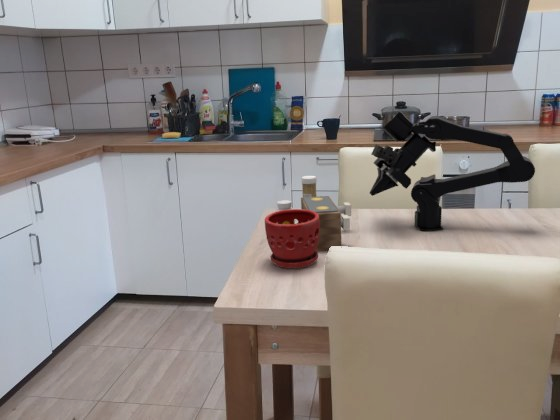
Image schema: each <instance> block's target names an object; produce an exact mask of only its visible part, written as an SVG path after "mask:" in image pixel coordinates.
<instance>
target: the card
mask: <svg viewBox="0 0 560 420" xmlns="http://www.w3.org/2000/svg"><path fill="white" fill-rule="evenodd" d="M328 196H329V195H324V196H323V197H320V196H316V197H307V198H303V197H302V198H303V199H304V201H305V203H306V205H307V207H308V209H309V210H310V211H314V212H316V213H324V212H338V210H337V209H336V207H335V206H336V205H335V206H334V204H335V203H334V202H333V203H334V204H333V203H332V202H331V200H332V199H331V198H330V199H331V200H330V199H329V197H330V196H329V197H328Z"/></svg>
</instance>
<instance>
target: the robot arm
mask: <svg viewBox="0 0 560 420" xmlns="http://www.w3.org/2000/svg"><path fill="white" fill-rule="evenodd" d="M382 130H383V131H385V132H386V134H387V135H388V136H390V137H391V138H392V139H393V140H394V141H396V142H397V143H398V142H402V143H404V144H403V145H402V146H401V147H400V148H398V147H397V148H395V149H394V148H393V147H391V146H389V145H385V146H384V147H383V146H381V145H379V144H375V145H374V147H373V150H372V152H371V156H374V157H375V158H377V159H375V160H374V162H373V164H374V165H375V166H376V167H377V168H376V169H377V177H376V179H375V182H374V183H373V186H372V187H371V189H370V191H369V194H370V195H371V196H372V197H373V196H375V195H378V194H380V193H382V192H384V191H387V190H390V189H393V188H395V187H399V184H400V185H401V186H402V187H403V188H404V189H408V188H409V186H410V185H411V184H412V179H411V178H410V176H408V175H407V174H406V173H407V172H408V171H409V170H410V169H411V168H412V167H416V166H417V163H416V162H417V161H418V160H419V159H420V158H421V156H423V155H424V153H426V152H427V150H429V151H431V152H432V153H434V152H436V151H437V148H436V147H437V142H436V141H431V140H442V141H443V140H446V141H447V140H458V141H463V142H467V143H471V144H477V145H481V146H485V147H489V148H490V147H491V148H494V149H495V148H496V149H499V150H501V151H502V153H503V155H504V157H505V158H506V161H505V162H502V163H500V164H499V165H497V166H493V167H490V168H485V169H481V170H476V171H473V172H468V173H464V174H460V175H455V176H451V177H448V178H436V174H431V175H428V176H426V177H424V176H421V177H420V179H419V180H417V181H415V183H414V184H413V187H412V188H411V191H410V197H411V200H413V201H414V202H415V203H416V204H417V205H416V210H415V211H414V223H413V224H414V225H413V226H415V227H416V228H417V229H418V230H419V231H422V232H423V231H440V230H444V227H443V226H442V212H443V211H442V208H443V207H442V206H440V202H441V197H442V196H445V195H446V194H451V193H455V192H460V191H464V190H470V189H473V188H477V187H478V188H479V187H483V186H486V185H487V186H489V185H492V184H497V183H508V184H509V183H513V184H514V183H525V182H529V181H531V180H532V179H533V177H534V176H535V173H536V168H535V165H534V163H533V161H532V160H531V159H530V158H528V157H526V156H523V154H522V152H521V151H520V150H519V148H518V146H517V145H516V143H515V142H514V139H513V136H512V135H510V134H509V133H500V132H495V131H491V130H486V129H480V128H476V127H470V126H467V125H466V126H465V125H460V124H458V123H457V122H456V123H455V122H454V121H451V120H449V119H446V118H444V117H442V116H439V115H432V116H430V117H429V118H427V119H426V120H425V121H420V122H419V121H418V122H415V123H414V122H413V121H412V120H410V119H409V118H408V117H407V116H406V115H405V113H403V111H401V110H399V111H398V112H397V114H396V115H395V116H393V118H391V119H390V120H389V121H388V122H387V123H386V124H385V125H384V126H383V127H382ZM421 135H422V136H421ZM408 137H409V138H408ZM407 138H408V139H407ZM406 139H407V140H406ZM405 140H406V141H405ZM398 183H399V184H398Z"/></svg>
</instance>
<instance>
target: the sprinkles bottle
mask: <svg viewBox="0 0 560 420" xmlns="http://www.w3.org/2000/svg"><path fill="white" fill-rule="evenodd" d="M301 185H302V187H301V188H302V193H301V194H302V198H303V197H317V176H315V175H303V176H302V177H301Z"/></svg>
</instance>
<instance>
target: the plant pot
mask: <svg viewBox="0 0 560 420" xmlns="http://www.w3.org/2000/svg"><path fill="white" fill-rule="evenodd" d="M294 219H295V220H297V223H295V224H294V223H293V220H294ZM308 220H309V221H308ZM285 221H288V222H289V223H290V224H283V222H285ZM302 222H304V223H302ZM276 223H278V224H276ZM264 229H265V235H266V239H267V243H268V246H269V249H270V251H271V255H270V258H271V261H272V263H273V264H275V266H278V267H280V268H284V269H300V268H307V267H308V266H311V265H313V264H314V263H315V262H316V261H317V260H318V257H319V252H317V251H316V248H317V245H318V242H319V234H320V221H319V215H318V214H317V213H316V212H314V211H310V210H304V209H301V208H299V209H298V208H292V209H290V210H282V211H277V212H272V213H269V214H268V215H266V217H264Z"/></svg>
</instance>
